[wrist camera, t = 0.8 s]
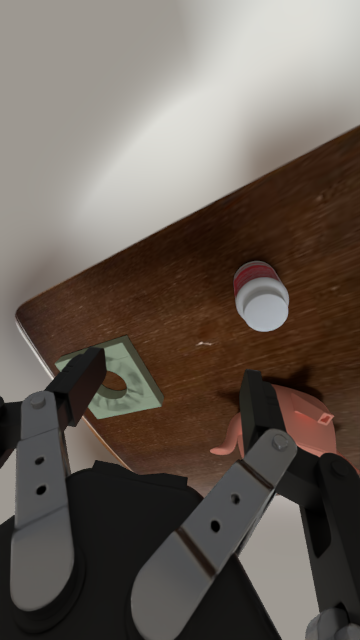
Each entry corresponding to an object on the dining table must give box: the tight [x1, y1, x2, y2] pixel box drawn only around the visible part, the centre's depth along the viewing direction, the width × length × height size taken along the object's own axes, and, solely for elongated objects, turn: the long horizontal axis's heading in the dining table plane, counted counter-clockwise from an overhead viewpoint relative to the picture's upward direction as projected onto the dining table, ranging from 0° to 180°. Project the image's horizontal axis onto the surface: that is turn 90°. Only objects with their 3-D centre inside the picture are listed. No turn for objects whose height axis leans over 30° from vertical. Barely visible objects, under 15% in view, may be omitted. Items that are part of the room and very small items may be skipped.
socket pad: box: [55, 335, 164, 419], centre depth 49 cm, size 16×16×2 cm
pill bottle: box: [234, 261, 289, 331], centre depth 32 cm, size 6×6×11 cm
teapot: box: [210, 384, 360, 475], centre depth 42 cm, size 18×18×14 cm
